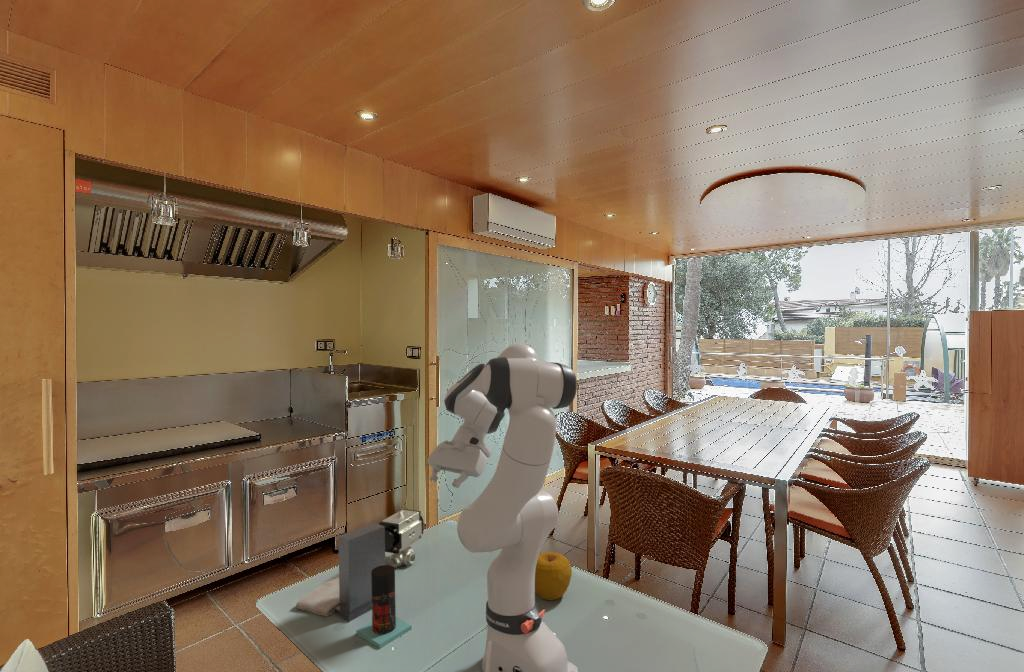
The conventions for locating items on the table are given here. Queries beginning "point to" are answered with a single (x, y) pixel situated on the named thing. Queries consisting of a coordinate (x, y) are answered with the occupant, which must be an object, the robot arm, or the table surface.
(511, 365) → the robot arm
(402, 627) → the plate
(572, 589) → the table surface
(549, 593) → the apple
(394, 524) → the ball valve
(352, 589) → the block
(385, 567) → the deodorant
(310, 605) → the washcloth
